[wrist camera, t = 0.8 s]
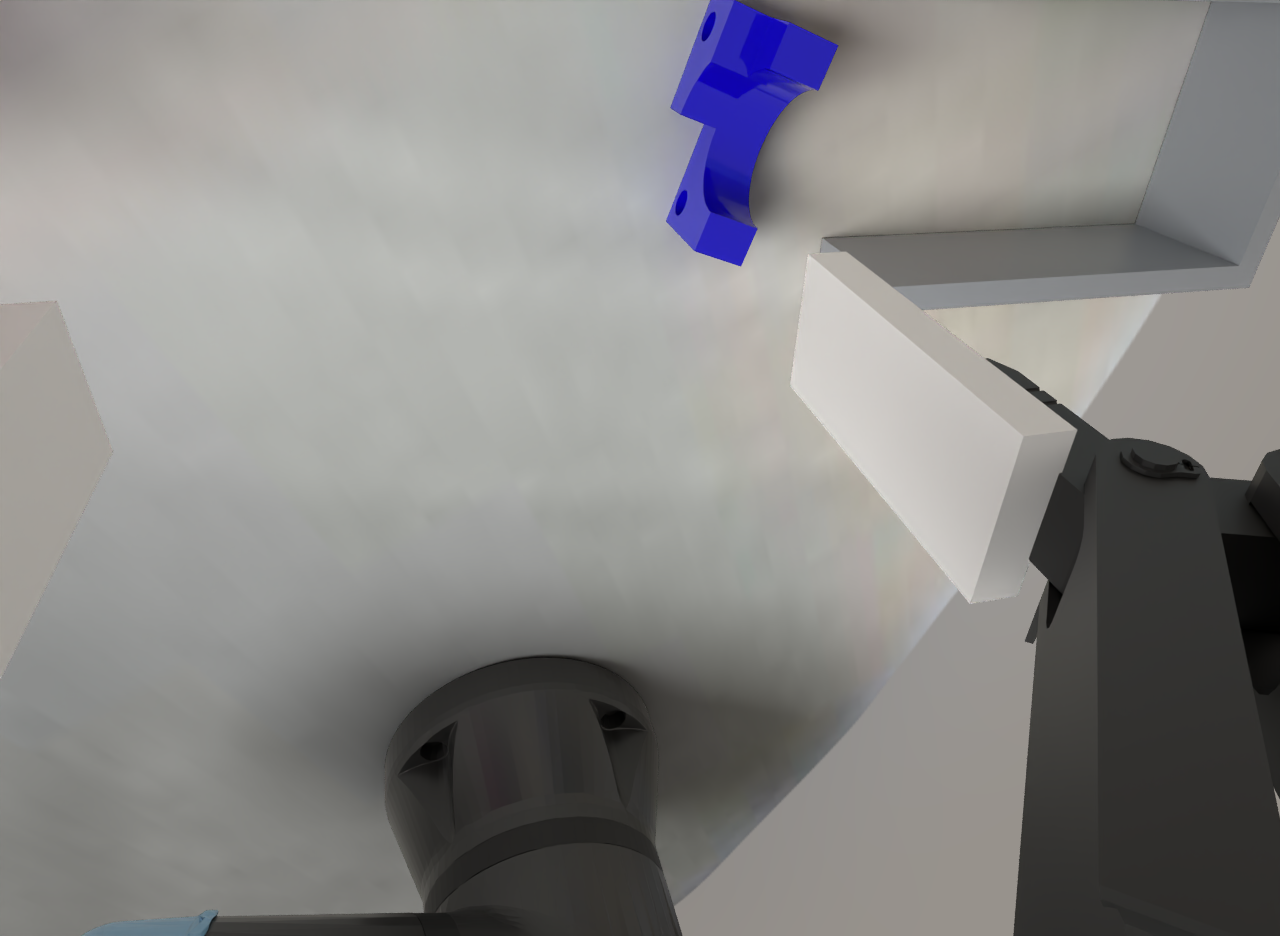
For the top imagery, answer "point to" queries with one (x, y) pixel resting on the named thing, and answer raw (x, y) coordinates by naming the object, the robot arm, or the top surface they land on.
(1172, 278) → the grey open box
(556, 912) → the robot arm
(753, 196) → the top surface
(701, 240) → the cable holder
